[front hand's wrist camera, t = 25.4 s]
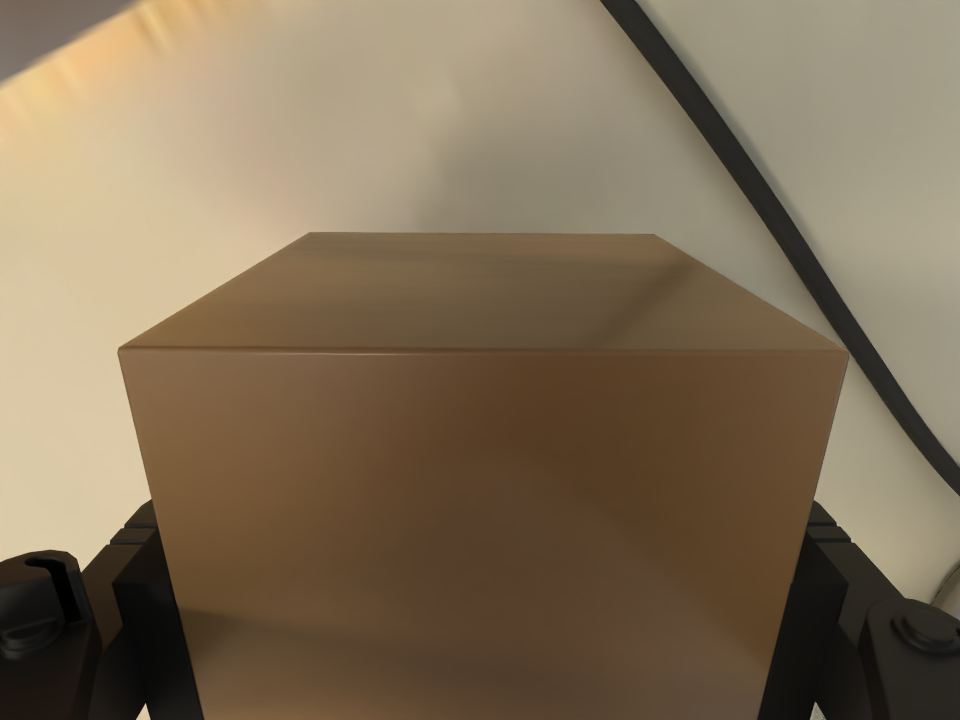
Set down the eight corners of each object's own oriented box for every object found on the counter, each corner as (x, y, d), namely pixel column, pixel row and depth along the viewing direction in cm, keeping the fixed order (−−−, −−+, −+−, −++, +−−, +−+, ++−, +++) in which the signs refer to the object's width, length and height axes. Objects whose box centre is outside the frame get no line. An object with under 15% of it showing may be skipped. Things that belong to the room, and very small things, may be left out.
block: (339, 548, 17) (234, 860, 10) (307, 231, 14) (113, 347, 6) (619, 549, 17) (723, 862, 10) (655, 233, 14) (854, 351, 6)
